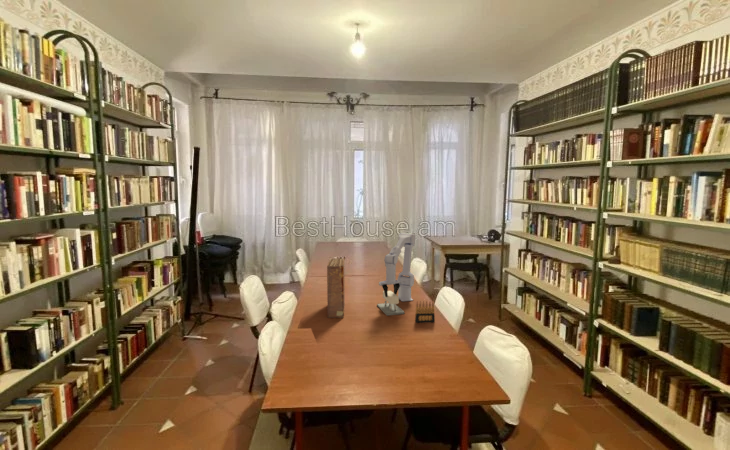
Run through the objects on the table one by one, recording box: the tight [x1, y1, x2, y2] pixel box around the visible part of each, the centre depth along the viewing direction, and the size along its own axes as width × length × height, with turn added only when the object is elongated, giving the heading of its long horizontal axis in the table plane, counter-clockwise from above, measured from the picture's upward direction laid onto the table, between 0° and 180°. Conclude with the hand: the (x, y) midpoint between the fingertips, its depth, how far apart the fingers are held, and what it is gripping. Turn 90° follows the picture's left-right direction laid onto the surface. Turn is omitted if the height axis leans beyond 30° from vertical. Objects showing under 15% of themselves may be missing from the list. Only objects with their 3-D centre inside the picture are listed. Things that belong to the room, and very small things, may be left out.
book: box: [326, 257, 346, 319], centre depth 227 cm, size 25×9×30 cm, turn 2°
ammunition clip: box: [414, 300, 436, 324], centre depth 210 cm, size 11×2×12 cm, turn 94°
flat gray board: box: [376, 300, 405, 316], centre depth 230 cm, size 18×11×4 cm, turn 16°
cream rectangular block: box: [382, 290, 400, 305], centre depth 229 cm, size 14×5×4 cm, turn 17°
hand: (390, 296), depth 229 cm, fingers closed on cream rectangular block, 5 cm apart
